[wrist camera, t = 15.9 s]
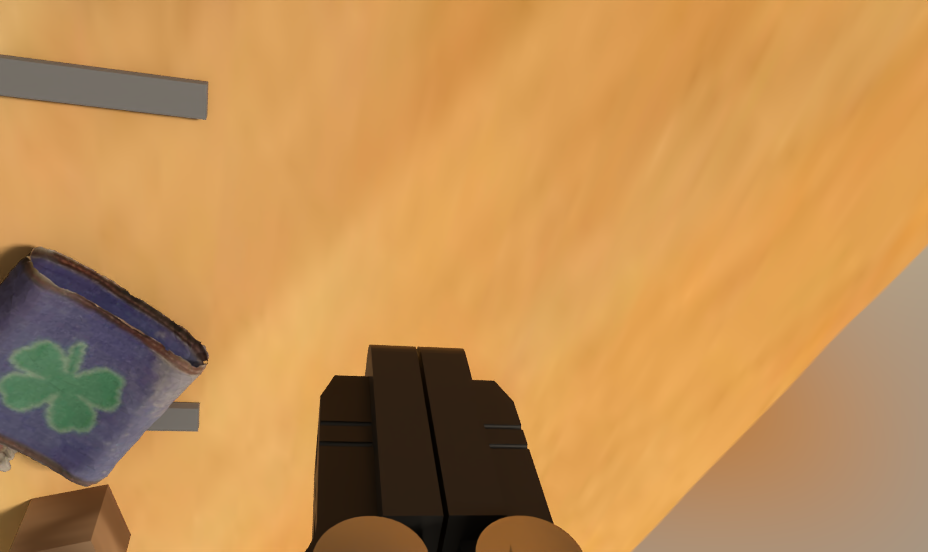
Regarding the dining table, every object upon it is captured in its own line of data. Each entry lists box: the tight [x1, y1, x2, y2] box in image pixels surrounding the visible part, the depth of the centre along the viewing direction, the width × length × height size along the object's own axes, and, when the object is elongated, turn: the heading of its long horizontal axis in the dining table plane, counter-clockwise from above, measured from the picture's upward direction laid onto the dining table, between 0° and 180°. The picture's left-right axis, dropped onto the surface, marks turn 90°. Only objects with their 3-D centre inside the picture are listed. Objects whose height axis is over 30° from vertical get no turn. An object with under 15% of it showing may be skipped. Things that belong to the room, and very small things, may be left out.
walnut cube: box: [9, 485, 131, 552], centre depth 40 cm, size 4×4×4 cm
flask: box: [0, 247, 209, 487], centre depth 35 cm, size 9×3×11 cm
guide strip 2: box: [147, 402, 200, 431], centre depth 37 cm, size 16×2×1 cm, turn 79°
